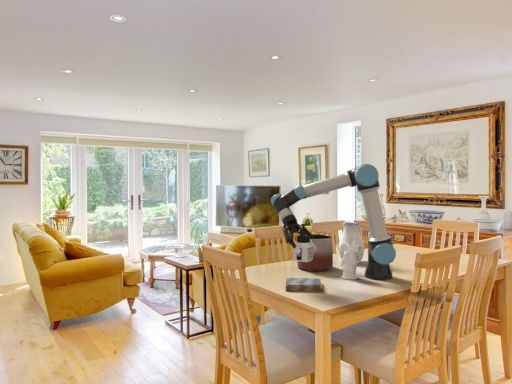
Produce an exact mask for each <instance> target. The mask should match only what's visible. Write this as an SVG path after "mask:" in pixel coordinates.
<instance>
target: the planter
mask: <svg viewBox="0 0 512 384" xmlns="http://www.w3.org/2000/svg"><path fill="white" fill-rule="evenodd" d="M311 234H312V233H311ZM312 235H313V236H314V238H313V239H312V240H313V242H314V243H315V244H314V245H315V246H316V248H317V250H316V251H315V252H313V260H311V261H309V262H300V261H296V263H297V268H299V269H300V270H303V271H309V272H325V271H330V270H331V269H332V268H333V265H334V261H333V259H334V258H333V257H334V256H333V254H334V253H333V249H334V248H333V236H331V235H330V234H329V235H328V234H321V233H320V234H316V233H315V234H314V233H313V234H312Z"/></svg>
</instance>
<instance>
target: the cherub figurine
mask: <svg viewBox="0 0 512 384" xmlns="http://www.w3.org/2000/svg"><path fill="white" fill-rule="evenodd" d="M351 246H352V248H351V247H350V244H349V243H348V242H346V241H343V242H342V243H341V244H340V247H341V249H342V251H344V257H343V259H341V262H340V264H339V265H340V266H341V267H342V269H341V270H342V274H341V278H342V279H344V280H357V279H358V276H357V275H356V272H357V269H358V268H357V265H359V259H358V254H357V252H361V248H362V247H361V245H360V246H358V245H356V242H355V241H353V242H352V243H351Z"/></svg>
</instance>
